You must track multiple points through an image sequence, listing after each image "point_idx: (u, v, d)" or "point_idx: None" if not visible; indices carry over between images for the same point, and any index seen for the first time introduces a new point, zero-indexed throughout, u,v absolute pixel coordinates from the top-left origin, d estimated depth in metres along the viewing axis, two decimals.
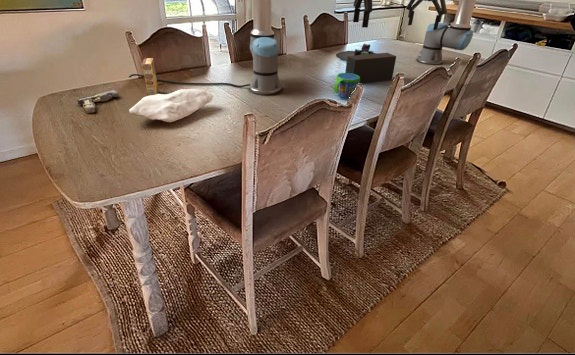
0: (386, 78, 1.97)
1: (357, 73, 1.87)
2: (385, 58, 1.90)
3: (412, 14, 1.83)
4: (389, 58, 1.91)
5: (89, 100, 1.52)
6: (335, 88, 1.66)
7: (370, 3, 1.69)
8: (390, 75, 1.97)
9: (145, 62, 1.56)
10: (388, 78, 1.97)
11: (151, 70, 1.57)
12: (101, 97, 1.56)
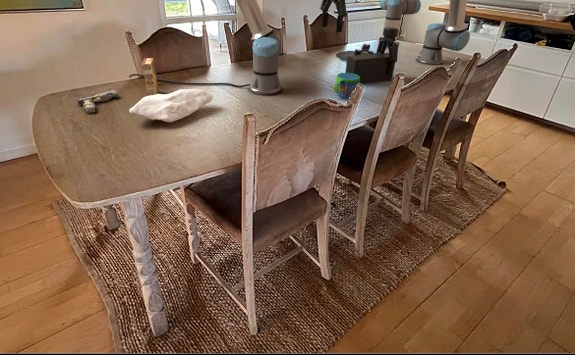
0: (386, 78, 1.97)
1: (357, 73, 1.87)
2: (385, 58, 1.90)
3: None
4: None
5: (89, 100, 1.52)
6: (335, 88, 1.66)
7: (344, 6, 1.62)
8: (390, 75, 1.97)
9: (145, 62, 1.56)
10: (388, 78, 1.97)
11: (151, 70, 1.57)
12: (101, 97, 1.56)
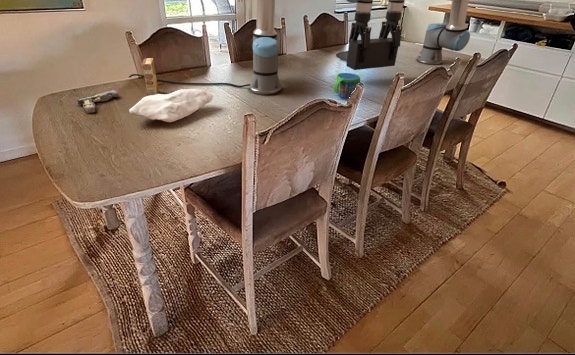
0: (389, 64, 1.93)
1: None
2: (388, 42, 1.85)
3: None
4: None
5: (89, 100, 1.52)
6: (335, 88, 1.66)
7: (368, 40, 1.76)
8: (393, 60, 1.93)
9: (145, 62, 1.56)
10: (391, 64, 1.93)
11: (151, 70, 1.57)
12: (101, 97, 1.56)
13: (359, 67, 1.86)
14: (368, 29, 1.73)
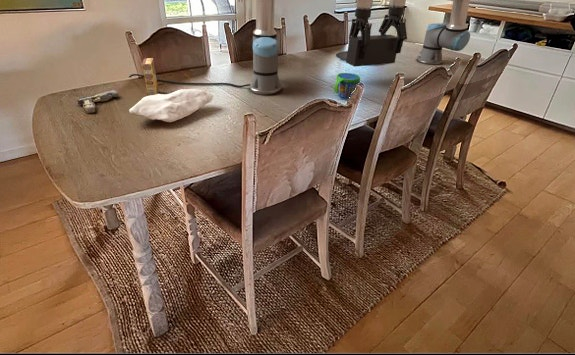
0: (388, 61, 1.92)
1: None
2: (388, 39, 1.85)
3: None
4: (392, 39, 1.86)
5: (89, 100, 1.52)
6: (335, 88, 1.66)
7: (368, 37, 1.75)
8: (393, 58, 1.92)
9: (145, 62, 1.56)
10: (391, 61, 1.92)
11: (151, 70, 1.57)
12: (101, 97, 1.56)
13: (359, 64, 1.85)
14: (368, 25, 1.73)
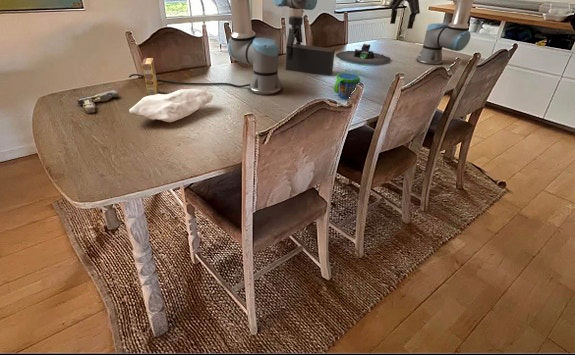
0: (322, 72, 2.02)
1: None
2: (318, 51, 1.97)
3: None
4: (323, 52, 1.96)
5: (89, 100, 1.52)
6: (335, 88, 1.66)
7: (290, 39, 1.94)
8: (326, 70, 2.01)
9: (145, 62, 1.56)
10: (324, 73, 2.02)
11: (151, 70, 1.57)
12: (101, 97, 1.56)
13: (290, 68, 2.07)
14: (290, 29, 1.93)
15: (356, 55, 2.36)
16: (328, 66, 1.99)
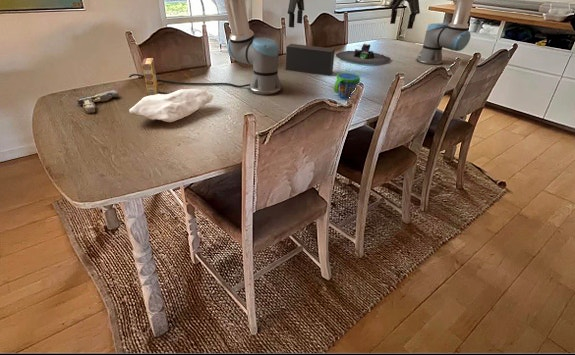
0: (322, 72, 2.02)
1: (289, 59, 2.05)
2: (318, 51, 1.97)
3: None
4: (323, 52, 1.96)
5: (89, 100, 1.52)
6: (335, 88, 1.66)
7: (291, 5, 1.85)
8: (326, 70, 2.01)
9: (145, 62, 1.56)
10: (324, 73, 2.02)
11: (151, 70, 1.57)
12: (101, 97, 1.56)
13: (290, 68, 2.07)
14: None
15: (356, 55, 2.36)
16: (328, 66, 1.99)
